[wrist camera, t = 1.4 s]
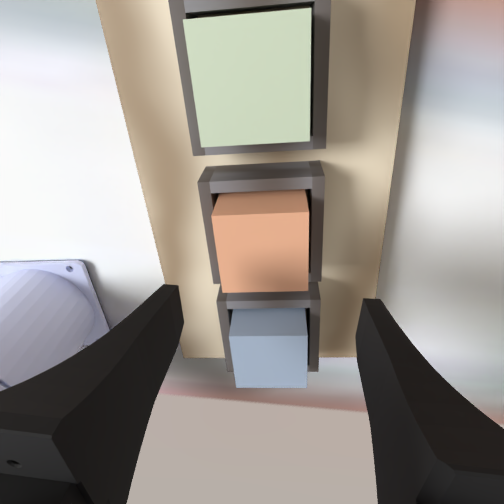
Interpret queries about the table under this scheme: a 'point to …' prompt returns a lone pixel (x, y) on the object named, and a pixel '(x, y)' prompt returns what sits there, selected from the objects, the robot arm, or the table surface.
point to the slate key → (269, 347)
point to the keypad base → (267, 159)
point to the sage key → (251, 77)
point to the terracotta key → (262, 240)
